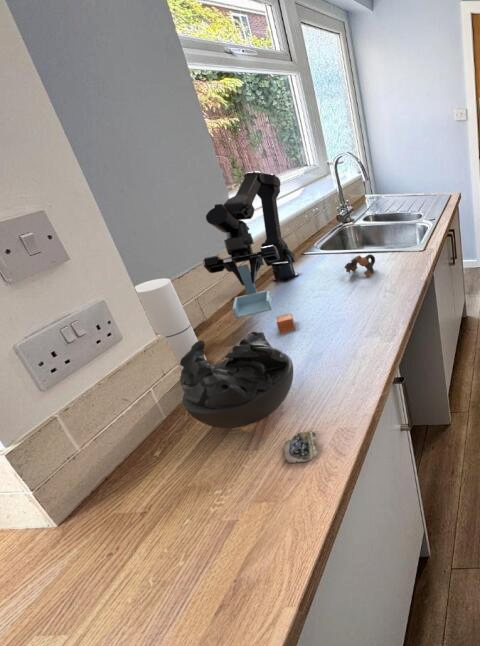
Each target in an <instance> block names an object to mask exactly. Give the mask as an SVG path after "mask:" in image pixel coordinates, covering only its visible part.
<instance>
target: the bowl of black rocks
mask: <svg viewBox="0 0 480 646" xmlns="http://www.w3.org/2000/svg"><path fill="white" fill-rule="evenodd" d="M205 346H206V343H205V340H198V342H196V343H195V344H194V345H193V346H192V347H191V350H190V351H189V352H188V353H186V355H185V356H184V357H182V359H181V361H180V365H181V366H183V369H182V371H181V376H180V379H179V381H180V386H181V388H182V390H183V395H182V406H183V407H184V409H185V410H186V411H187V412H188V414H189V415H190V416H191V417H192V418H194V419H195V420H196V421H198V422H200V423H202V424H204V425H206V426H209V427H213V428H218V429H238V428H239V429H240V428H244V427H249V426H251V425H253V424H256V423H258V422H260V421H262V420H264V419H266V418H267V417H269V416H270V415H272V414H273V413H274V412H275V411H276V410H277V409H278V408H279V407H280V406H281V405H282V404H283V402H284V401H285V399H286V398H287V396H288V394H289V392H290V390H291V388H292V384H293V381H294V365H293V360H292V358H291V357H290V356H289V355H288V354H287V353H285V352H283V351H282V350H280V349H277V348H276V347H275V348H274V347H273V346H271V344H270V343H269V342H268V339H266V336H265V333H264V332H263V331H251V332H250V333H248V334H247V335H245V336H244V337H243V338H242V339H241V340H240V341H239V344H236V345H234V346H233V347H232V348H231V349H232V350H231V351H230V352H228V353H227V354H226V355H224V358H225V360H223V361H221V362H219V363H217V364H214V365H211V364H209V362H208V360H207V358H206V359H205V357H206V356H205V357H204V355H205V353H204V349H205ZM208 364H209V365H208Z"/></svg>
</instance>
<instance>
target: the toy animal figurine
mask: <svg viewBox="0 0 480 646" xmlns="http://www.w3.org/2000/svg"><path fill="white" fill-rule="evenodd" d="M375 263H376V257H375V256H374V255H373V254H371V253H370V254H367V255H366V256H361V255H359V254H358V255H357V256H355V257H354V258H352V259H351V260H350V262H347V263H346V264H345V266H344V268H345V272H346V273H349V274H351V272H353V273H355V272H356V271H357V269H358V265H360V267H364V268H366V270H365V271H364V273H363V274H364V275H365V276H366V278H369V277H370V276H372V274H373V273H375V269H374V265H375Z"/></svg>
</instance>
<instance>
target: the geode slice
mask: <svg viewBox="0 0 480 646" xmlns="http://www.w3.org/2000/svg"><path fill="white" fill-rule="evenodd" d="M316 439H317V437H316V432H314V431H306V432H302V431H299V432H298V433H297V434H296V435H293V436H292V438H291V439H288V440H287V441H286V440H285V442H284V447H283V452H284V458H285V460H286V461H287V462H288V463H293V464H296V462H297V463H306V462H310V461H312V460H313V459H314V458H315V457H316V456H317V454H318V449H317V446H315V443H316V444H317V442H318V441H317V442H316Z"/></svg>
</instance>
